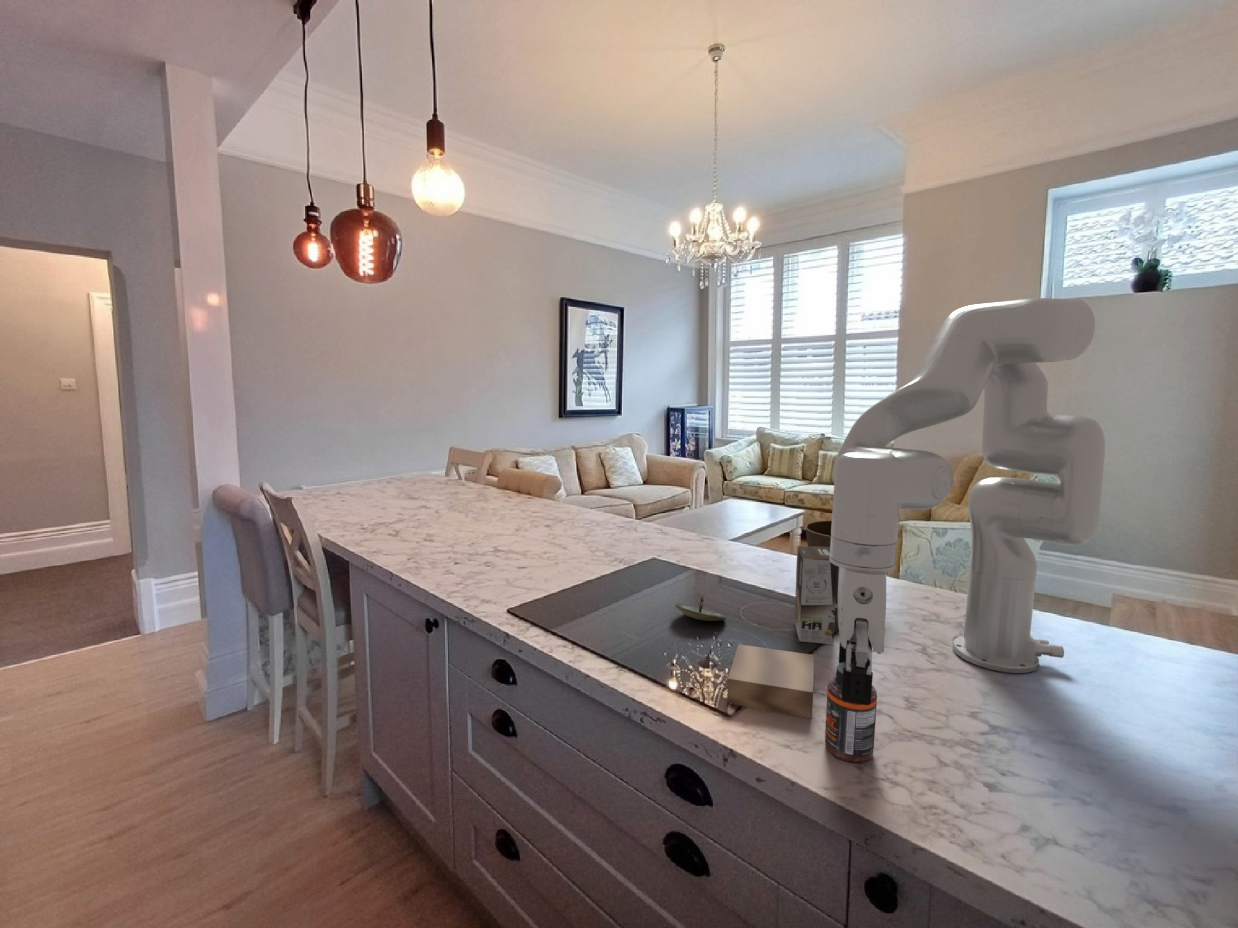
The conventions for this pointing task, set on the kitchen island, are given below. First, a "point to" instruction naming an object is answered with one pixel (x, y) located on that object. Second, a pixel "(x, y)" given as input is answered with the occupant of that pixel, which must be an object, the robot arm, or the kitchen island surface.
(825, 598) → the coffee box
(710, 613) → the lid
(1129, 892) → the kitchen island surface
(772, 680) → the tan block
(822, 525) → the plant pot
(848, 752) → the supplement bottle
